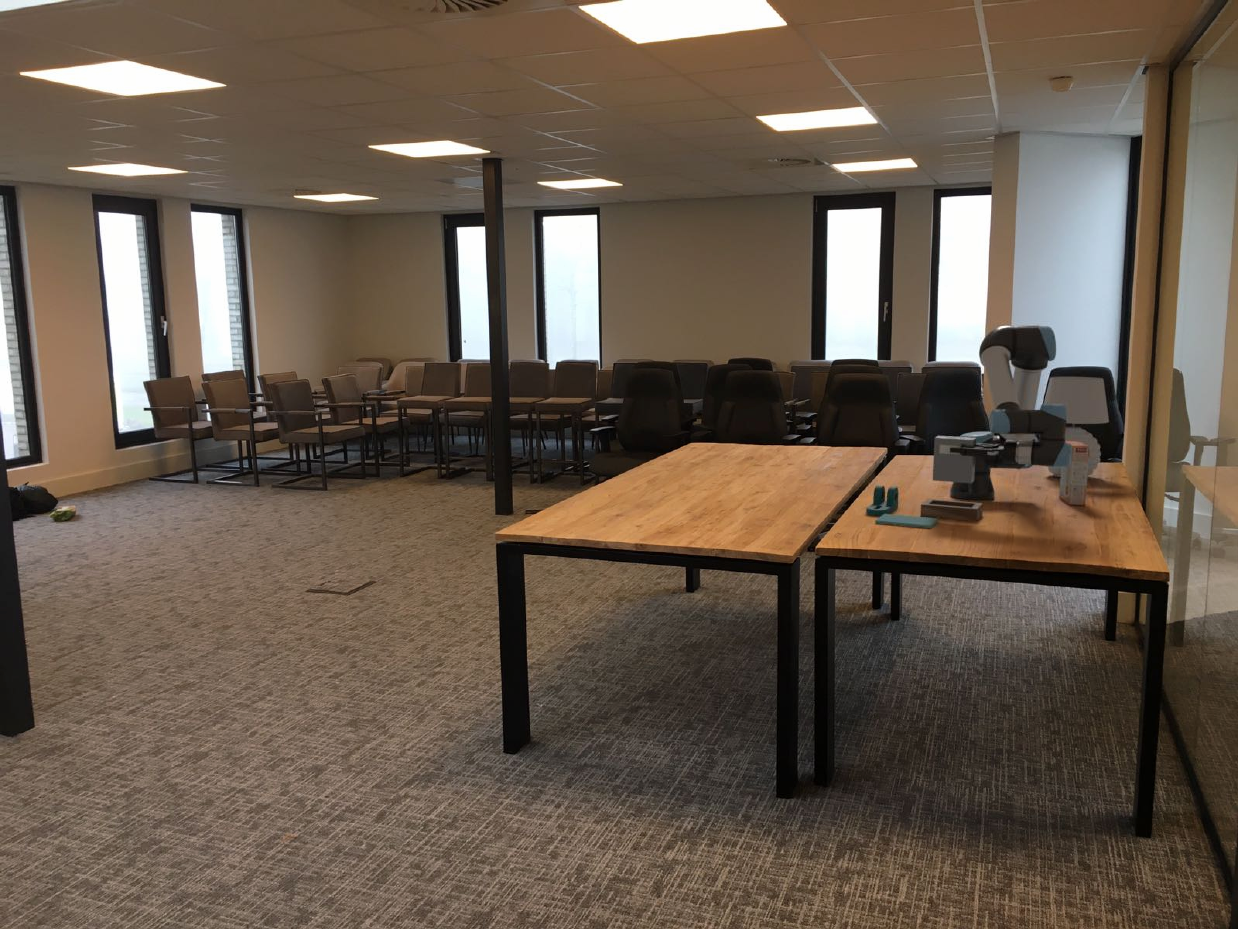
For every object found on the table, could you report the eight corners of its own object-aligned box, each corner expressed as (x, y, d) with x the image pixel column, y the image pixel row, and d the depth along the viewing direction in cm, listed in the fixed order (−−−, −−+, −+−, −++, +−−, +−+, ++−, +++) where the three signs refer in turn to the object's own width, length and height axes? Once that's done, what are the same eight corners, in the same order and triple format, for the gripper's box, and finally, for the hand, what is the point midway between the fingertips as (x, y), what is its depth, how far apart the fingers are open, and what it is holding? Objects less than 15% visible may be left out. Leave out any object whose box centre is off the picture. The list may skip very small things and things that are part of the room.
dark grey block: (936, 477, 330) (938, 435, 327) (974, 480, 324) (976, 437, 322) (932, 480, 324) (934, 437, 322) (971, 483, 319) (973, 440, 317)
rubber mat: (884, 516, 325) (884, 513, 325) (937, 521, 317) (938, 518, 317) (875, 523, 315) (875, 520, 315) (930, 528, 307) (930, 525, 307)
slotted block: (927, 510, 336) (928, 498, 335) (982, 515, 327) (982, 503, 327) (920, 516, 326) (920, 504, 325) (976, 521, 317) (977, 509, 317)
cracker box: (1086, 506, 342) (1090, 445, 339) (1067, 505, 344) (1071, 445, 341) (1076, 498, 356) (1080, 440, 353) (1058, 498, 357) (1062, 440, 354)
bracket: (878, 506, 344) (879, 484, 343) (897, 508, 341) (898, 485, 339) (863, 515, 328) (864, 492, 327) (884, 517, 325) (885, 493, 324)
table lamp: (1109, 483, 387) (1116, 380, 381) (1039, 480, 395) (1045, 379, 389) (1099, 473, 411) (1106, 376, 405) (1033, 471, 419) (1039, 375, 413)
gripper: (1013, 468, 306) (935, 463, 317) (1020, 459, 323) (946, 454, 333) (1014, 444, 305) (936, 439, 316) (1021, 436, 321) (947, 432, 332)
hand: (941, 447), depth 324 cm, fingers closed on dark grey block, 6 cm apart
